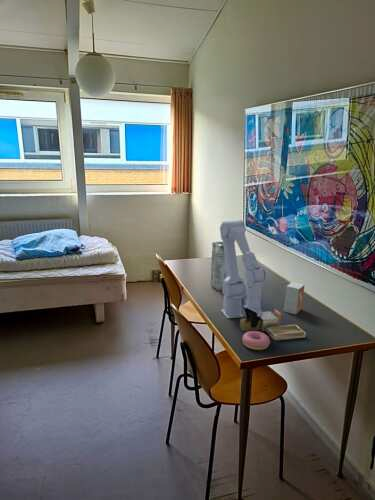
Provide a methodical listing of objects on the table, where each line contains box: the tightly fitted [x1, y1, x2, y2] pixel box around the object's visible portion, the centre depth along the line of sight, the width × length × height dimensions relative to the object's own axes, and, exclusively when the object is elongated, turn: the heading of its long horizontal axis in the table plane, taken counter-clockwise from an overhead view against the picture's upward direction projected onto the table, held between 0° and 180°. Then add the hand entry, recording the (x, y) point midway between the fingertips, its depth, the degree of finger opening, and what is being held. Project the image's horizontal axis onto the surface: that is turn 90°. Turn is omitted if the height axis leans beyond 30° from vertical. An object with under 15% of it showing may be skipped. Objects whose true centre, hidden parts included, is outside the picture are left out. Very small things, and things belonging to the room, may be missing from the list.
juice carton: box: [210, 241, 227, 292], centre depth 202 cm, size 9×10×27 cm
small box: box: [283, 281, 305, 315], centre depth 176 cm, size 8×6×13 cm
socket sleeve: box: [260, 311, 278, 332], centre depth 159 cm, size 8×7×5 cm
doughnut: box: [241, 330, 271, 351], centre depth 144 cm, size 11×11×4 cm
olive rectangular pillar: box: [239, 317, 262, 332], centre depth 158 cm, size 9×4×4 cm, turn 104°
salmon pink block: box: [273, 309, 282, 326], centre depth 159 cm, size 5×8×6 cm, turn 104°
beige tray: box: [266, 324, 307, 341], centre depth 153 cm, size 7×14×2 cm, turn 104°
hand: (251, 325), depth 158 cm, fingers closed on olive rectangular pillar, 4 cm apart
